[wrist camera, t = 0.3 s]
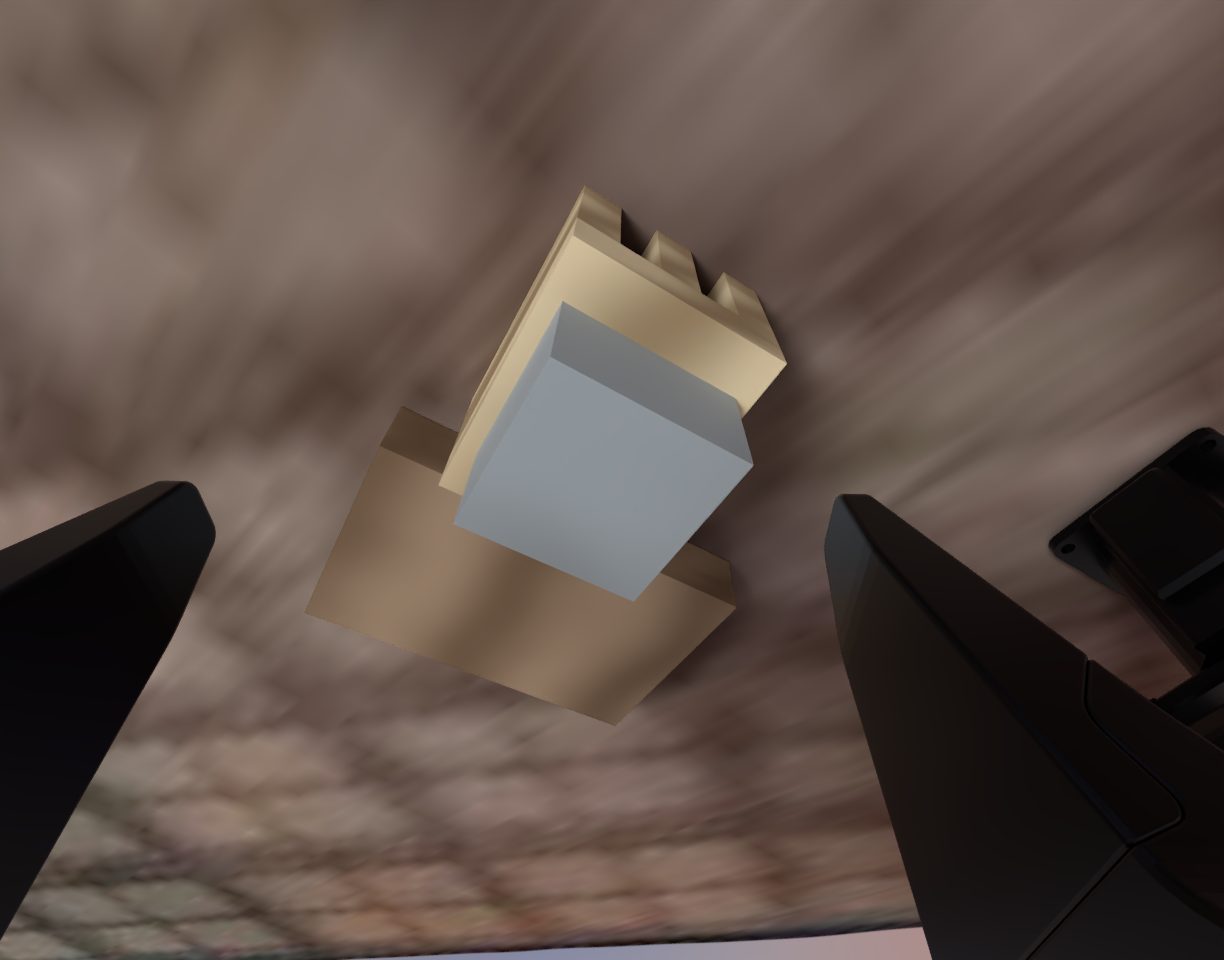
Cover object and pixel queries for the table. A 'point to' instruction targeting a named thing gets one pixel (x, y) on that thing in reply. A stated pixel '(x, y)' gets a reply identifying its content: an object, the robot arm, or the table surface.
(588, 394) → the block
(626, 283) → the block
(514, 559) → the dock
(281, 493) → the table surface
